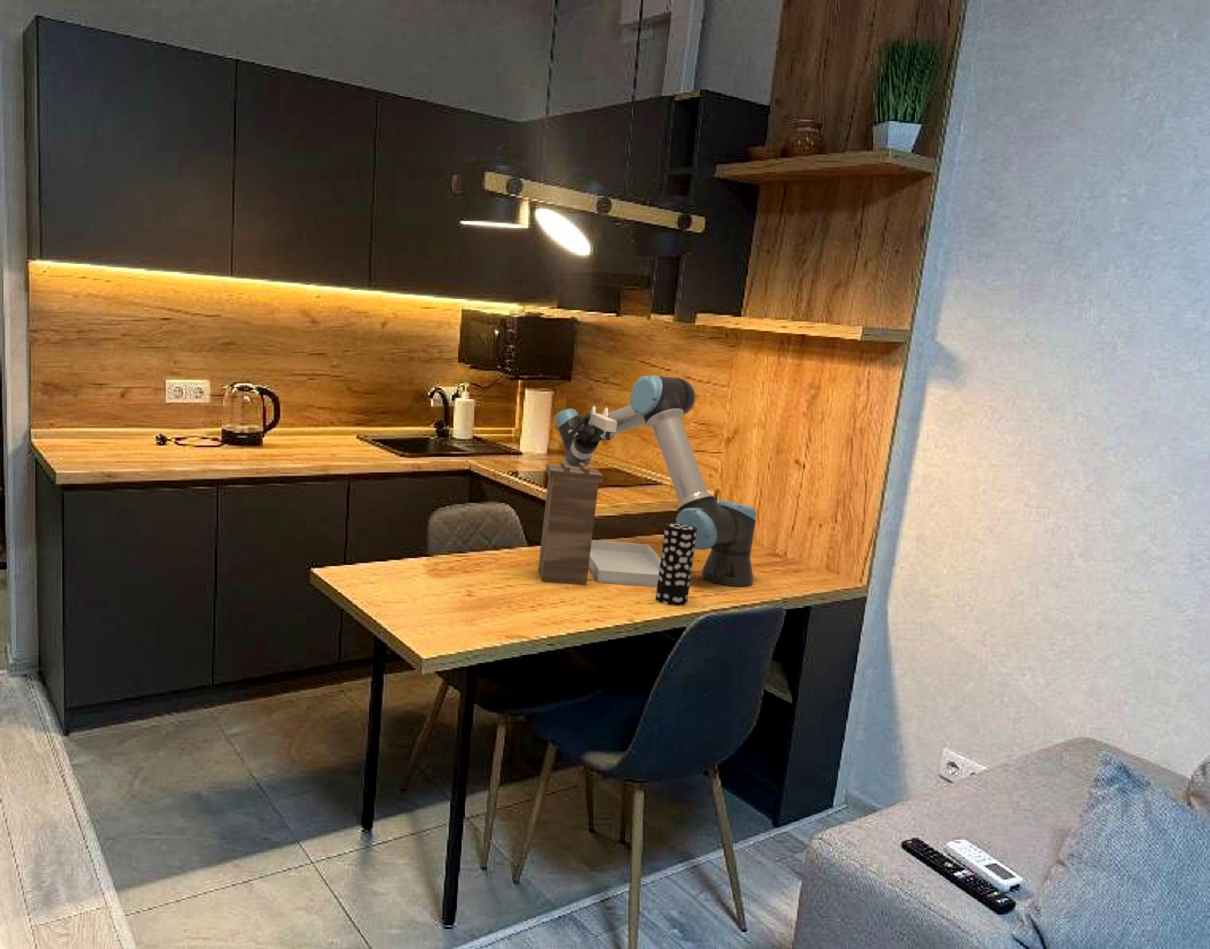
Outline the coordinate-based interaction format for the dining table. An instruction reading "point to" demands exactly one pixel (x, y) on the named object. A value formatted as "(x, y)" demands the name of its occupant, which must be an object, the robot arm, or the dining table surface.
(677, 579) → the spotted tube
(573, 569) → the stand
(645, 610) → the dining table surface
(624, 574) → the tray
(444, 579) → the dining table surface
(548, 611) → the dining table surface
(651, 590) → the dining table surface
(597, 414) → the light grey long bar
